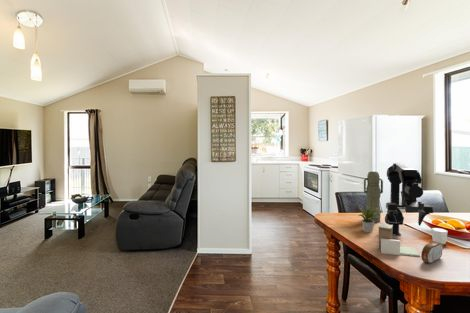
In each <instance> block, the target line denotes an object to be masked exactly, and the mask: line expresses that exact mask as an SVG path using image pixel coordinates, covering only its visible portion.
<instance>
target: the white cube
mask: <svg viewBox="0 0 470 313" xmlns="http://www.w3.org/2000/svg"><path fill="white" fill-rule="evenodd" d="M431 237H432V238H431V239H432V242H433V241H436V242H439V243H441V244H442V245H446V243H447V240H448V239H447V237H448V230H446V229H444V228H440V227H432V228H431Z"/></svg>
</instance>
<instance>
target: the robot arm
mask: <svg viewBox="0 0 470 313" xmlns="http://www.w3.org/2000/svg"><path fill="white" fill-rule="evenodd" d="M386 177H387V180H388V182H389V183H390V202H386V203H385V208H386V209H387V211H386V214H385V216H384V222H385V224H389V225H393V236H402V234H401V233H400V225H401V226H403V224H404V220H405V217H404V215H403V212H402V211H401V210H406V211H407V212H409V213H418V219H417V223H418V224H417V225H418V226H420V227H421V225H422V223H423V220H424V219H425V217H426V216H428V215H430V214H434V207H433V206H431V205H430V204H425V202H424V201H417V199H419V198H421V197H422V196H423V195H424V189H423V188H422V187H421V186H419V185H421V184H422V182H423V179H422V176H421V173H420V171H419V170H418V169H417V168H410V167H408V166H407V165H405V163H403V162H393V164H392V165H391V166H389V167H388V168H387V169H386ZM400 188H401V192H400ZM400 193H401V202H400Z"/></svg>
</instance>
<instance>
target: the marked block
mask: <svg viewBox="0 0 470 313" xmlns="http://www.w3.org/2000/svg"><path fill="white" fill-rule="evenodd" d="M393 236H394V235H393V225H389V224H386V223H380V222H379V225H378V250H379V251H381V238H382V239H392V240H394V239H393Z"/></svg>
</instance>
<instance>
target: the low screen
mask: <svg viewBox="0 0 470 313" xmlns="http://www.w3.org/2000/svg"><path fill="white" fill-rule="evenodd" d="M400 246H401V240H399V239H393V240H392V239H382V238H381V250H380V253H381V254H387V255H395V256H400Z"/></svg>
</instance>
